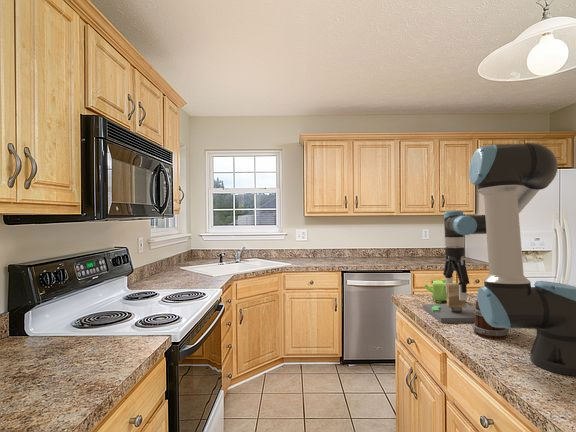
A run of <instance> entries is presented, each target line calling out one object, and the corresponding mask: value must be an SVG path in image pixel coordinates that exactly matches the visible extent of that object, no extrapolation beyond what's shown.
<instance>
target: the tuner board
mask: <svg viewBox="0 0 576 432" xmlns="http://www.w3.org/2000/svg"><path fill="white" fill-rule="evenodd" d="M474 308H475V307H474V306H473V305H470V304H468V303H466V307H464V308H462V312H460V313H456V312H452V310H451V308H449V307H447V303H423V304H422V309H423V310H424V311H425V312H427V313H428V314H429V315H430V316H432V317H433V318H434V319H435V320H437V321H438V322H439V323H441V324H456V323H458V324H460V323H463V324H465V323H466V324H467V323H470V324H471V323H472V324H474V323H475V314H474V311H473V309H474Z"/></svg>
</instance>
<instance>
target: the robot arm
mask: <svg viewBox="0 0 576 432" xmlns="http://www.w3.org/2000/svg"><path fill="white" fill-rule="evenodd" d="M558 163H559V162H558V160H557V158H556V155H555V154H554V152H553V151H552V150H551V148H548V147H547V146H545V145H543V144H541V143H537V142H527V143H526V142H525V143H510V144H509V143H507V144H504V143H503V144H502V143H501V144H492V145H484V146H480V147H478V148H477V149H476V150H475V151H474V153H473V155H472V157H471V160H470V163H469V169H468V171H469V172H468V178H469V180H470V181H469V182H470V184H471V185H473V186H477V192H478V193H479V194H481V195H482V196H483V202H484V203H483V204H484V214H477V215H475V214H474V215H473V214H472V215H471V214H470V215H464V211H463V210H447V211H445V212H444V215H443V223H444V225H443V227H444V246H445V248H444V253H445V254H444V255H445V263H444V267H443V268H444V269H443V276H444V279H446V283H453V281H454V280H453V278H454V276H453V274H454V272H456V273H455V274H456V276H457V278H458V283H459V300H466V301H467V300H468V292H467V291H468V290H467V286H468V285H469V284H470V279H469V275H468V270H467V266H466V260H465V259H461V258H462V257H464V256H465V254H466V253H465V252H466V251H465V247H464V246H465V241H466V239H465V236H469V235H485V234H486V244H487V259H488V272H489V273H488V276H487V277H486V278H485V279H484V280H483V282H484V283H483V284H484V285H483V286H481V287H479V288H478V290H477V294H476V298H477V299H476V300H478V305H479V308H480V311H481V313H482V316H483V317H484V319H485V321H486V322H487V323H488V324H489V325H491V326H492V327H496V328H506V329H509V330H510V329H536V335H535V338H534V341H533V343H532V346H531V349H530V351H529V357H530V358H529V360H530V362H532V363H533V364H534V365H535V366H537V367H538V368H542V369H543V370H546V371H549V372H552V373H555V374H556V373H557V374H561V375H565V376H571V377H576V285H575V286H574V285H570V284H566V283H561V282H559V283H558V282H555V281H546V280H545V281H544V280H539V281H538V280H536V281H534V284H533V285H534V286H531V285H532V284H531V280H530V279H528V278H527V276H525V275H524V264H523V263H524V262H523V252H522V238H521V224H520V213H521V212H522V211H523V209H525V208H526V206H527V205H528V204H529V203H530V201H532V200H533V198H534V197H535V196H536V195H537V194H538V192H539V191H542V190H544V189H546V188H547V187H548V186H549V185H550V184H551V183H552V182H553V181H554V179H555V178H556V176H557V173H558V169H559V165H558ZM446 293H447V289H446Z"/></svg>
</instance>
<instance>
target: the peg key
mask: <svg viewBox="0 0 576 432" xmlns="http://www.w3.org/2000/svg"><path fill="white" fill-rule="evenodd" d="M446 289H447V301H446V304H447V307H449V308H451V310H452V312H456V313H460V312H462V308H464V307H466V304H467V300H459V282H456V283H446Z"/></svg>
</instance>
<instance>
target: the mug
mask: <svg viewBox="0 0 576 432" xmlns="http://www.w3.org/2000/svg"><path fill="white" fill-rule="evenodd" d="M473 311H474V314H475V323H472V324H471V327H472V330H473V332H474V334H475V335H477V336H479V337H481V338H484V339H485V338H486V339H490V340H493V339H495V340H503V339H504V340H505V338H506V339H507V337H508V335H509V333H510V329H506V328H496V327H492V326H491V325H489V324H488V323H487V322H486V321H485V319H484V317H483V316H482V313H481V311H480V308H479V305H478V299H476V300H475V307H474V309H473Z"/></svg>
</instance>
